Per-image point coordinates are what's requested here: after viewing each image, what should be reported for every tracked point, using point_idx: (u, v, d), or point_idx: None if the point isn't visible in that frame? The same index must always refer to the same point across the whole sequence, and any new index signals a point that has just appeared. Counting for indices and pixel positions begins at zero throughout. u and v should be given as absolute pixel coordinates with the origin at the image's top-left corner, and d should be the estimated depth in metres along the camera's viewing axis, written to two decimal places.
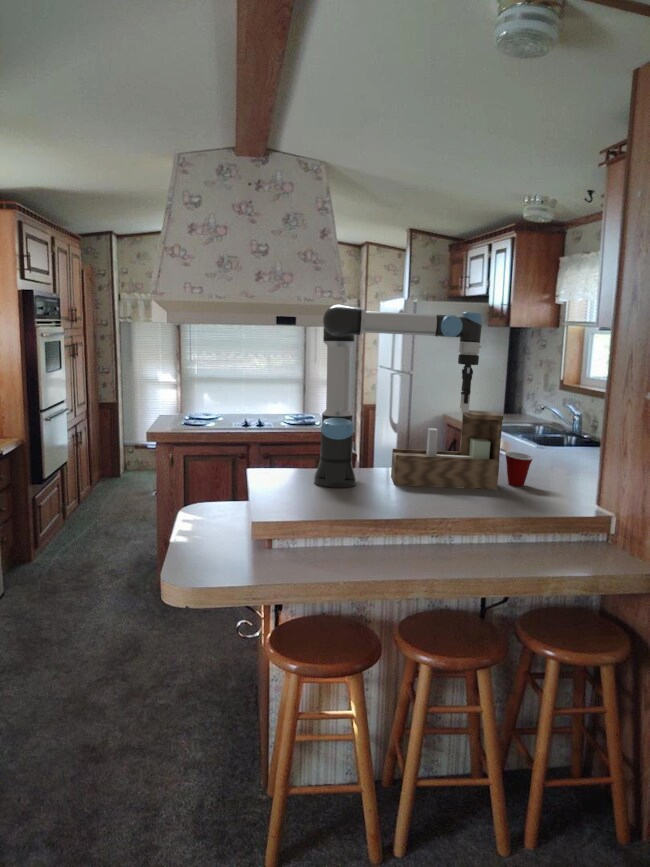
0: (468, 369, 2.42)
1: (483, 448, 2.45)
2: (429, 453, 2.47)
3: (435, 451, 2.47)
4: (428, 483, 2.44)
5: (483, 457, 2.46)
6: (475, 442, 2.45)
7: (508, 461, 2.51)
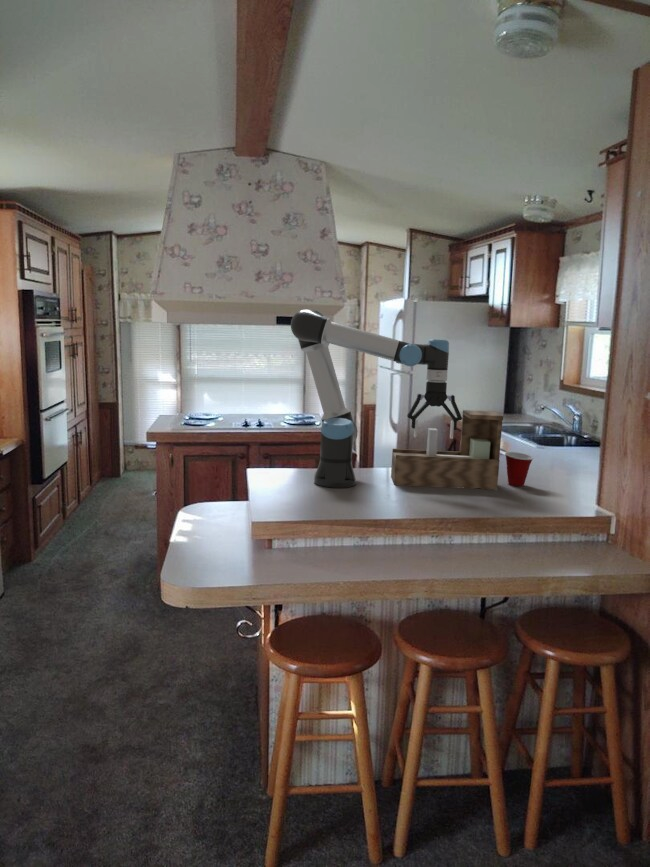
0: (417, 395, 2.46)
1: (483, 448, 2.45)
2: (429, 453, 2.47)
3: (435, 451, 2.47)
4: (428, 483, 2.44)
5: (483, 457, 2.46)
6: (475, 442, 2.45)
7: (508, 461, 2.51)
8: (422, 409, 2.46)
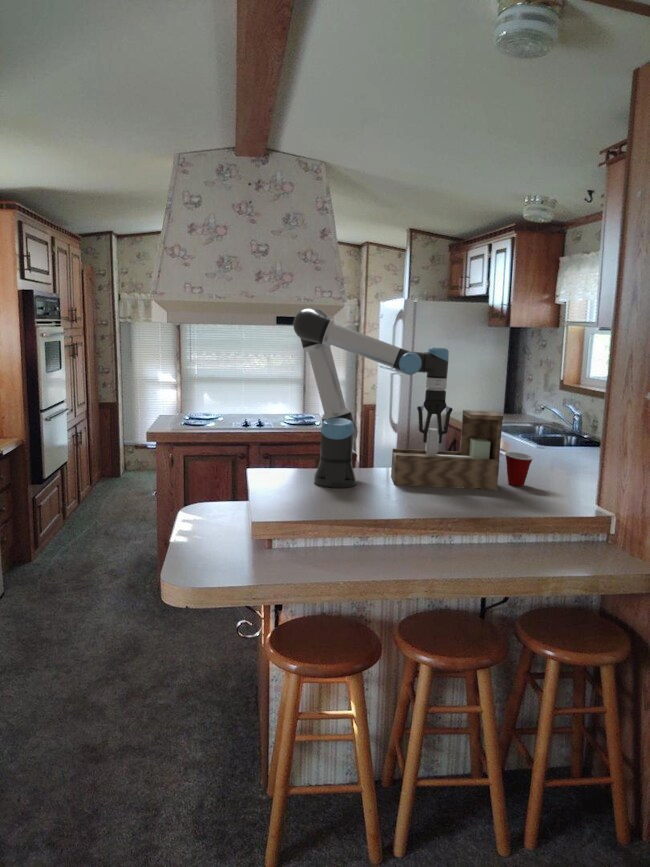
0: (417, 408, 2.47)
1: (484, 448, 2.45)
2: (429, 453, 2.47)
3: (435, 451, 2.47)
4: (428, 483, 2.44)
5: (483, 457, 2.46)
6: (475, 442, 2.45)
7: (508, 461, 2.51)
8: (428, 420, 2.46)
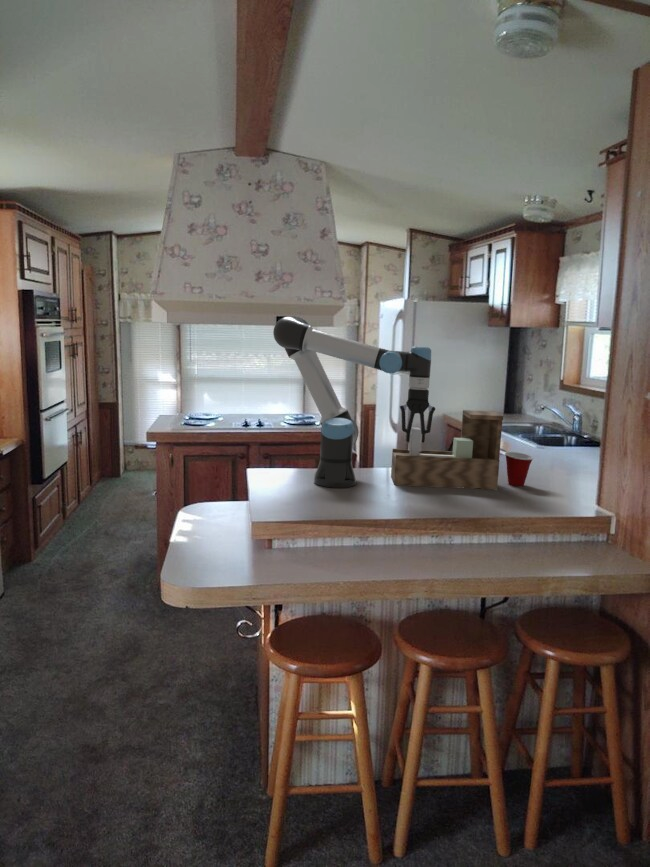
0: (400, 408, 2.47)
1: (466, 447, 2.45)
2: (412, 452, 2.47)
3: (418, 450, 2.47)
4: (428, 483, 2.44)
5: (466, 456, 2.46)
6: (458, 441, 2.45)
7: (508, 461, 2.51)
8: (411, 420, 2.46)
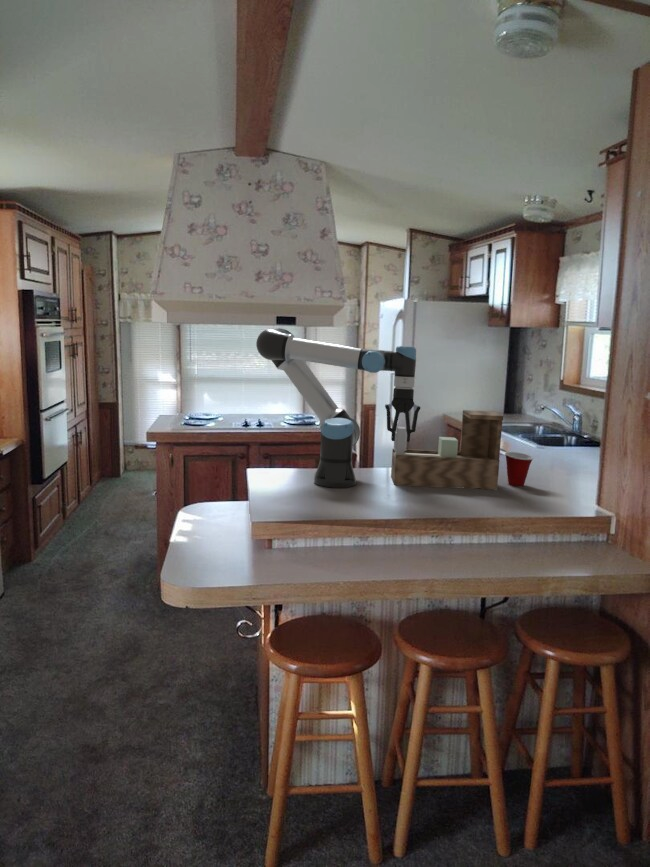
0: (385, 407, 2.47)
1: (451, 446, 2.45)
2: (397, 451, 2.47)
3: (403, 449, 2.47)
4: (428, 483, 2.44)
5: (451, 455, 2.46)
6: (443, 440, 2.45)
7: (508, 461, 2.51)
8: (396, 419, 2.46)
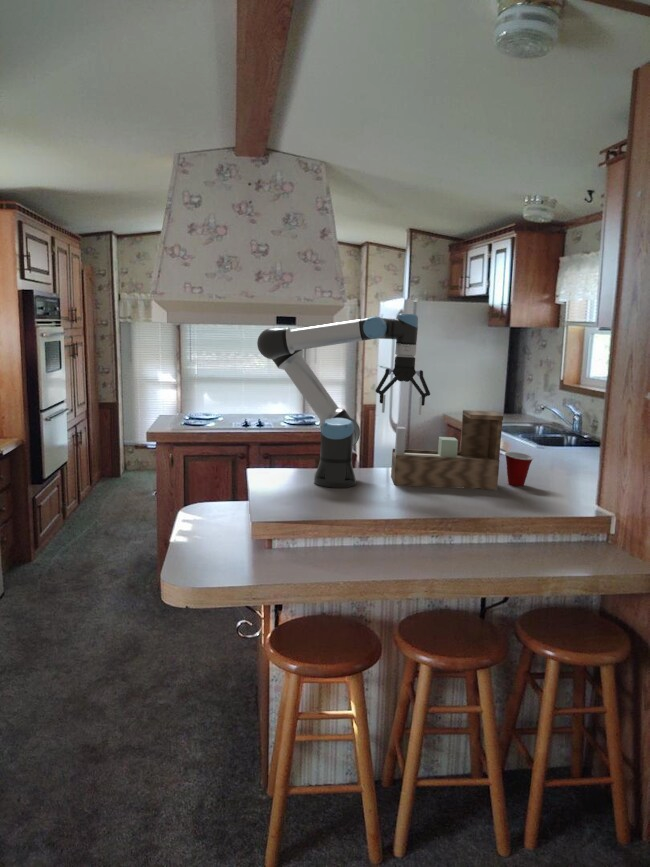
0: (385, 370, 2.45)
1: (451, 446, 2.45)
2: (397, 451, 2.47)
3: (403, 449, 2.47)
4: (428, 483, 2.44)
5: (451, 455, 2.46)
6: (443, 440, 2.45)
7: (508, 461, 2.51)
8: (390, 384, 2.44)
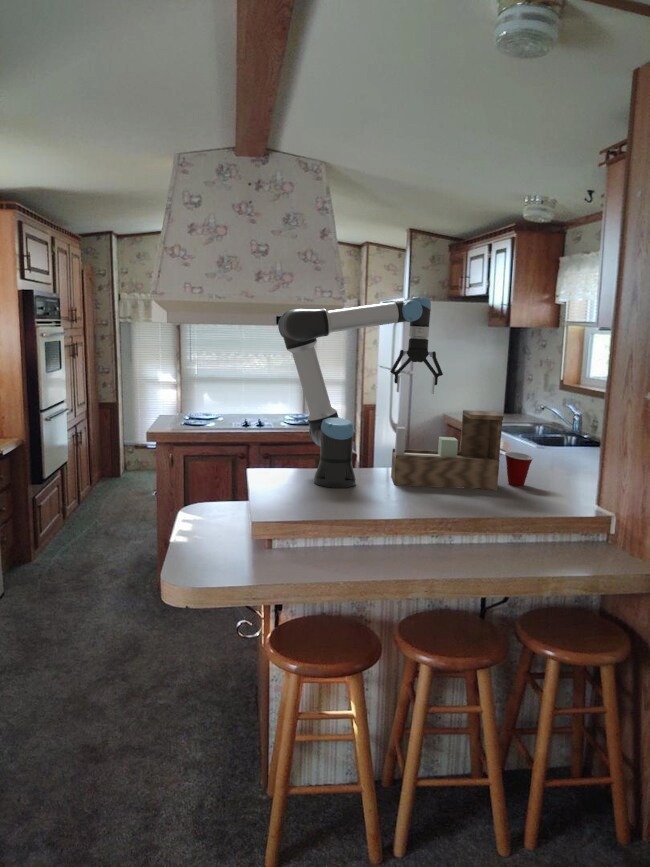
0: (400, 351, 2.57)
1: (451, 446, 2.45)
2: (397, 451, 2.47)
3: (403, 449, 2.47)
4: (428, 483, 2.44)
5: (451, 455, 2.46)
6: (443, 440, 2.45)
7: (508, 461, 2.51)
8: (404, 365, 2.56)
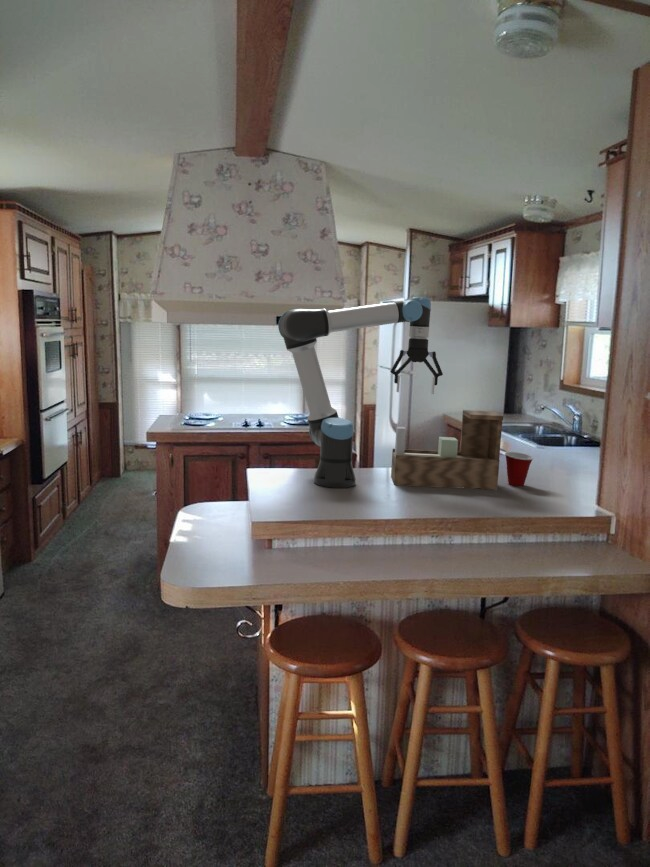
0: (400, 351, 2.57)
1: (451, 446, 2.45)
2: (397, 451, 2.47)
3: (403, 449, 2.47)
4: (428, 483, 2.44)
5: (451, 455, 2.46)
6: (443, 440, 2.45)
7: (508, 461, 2.51)
8: (404, 365, 2.56)
